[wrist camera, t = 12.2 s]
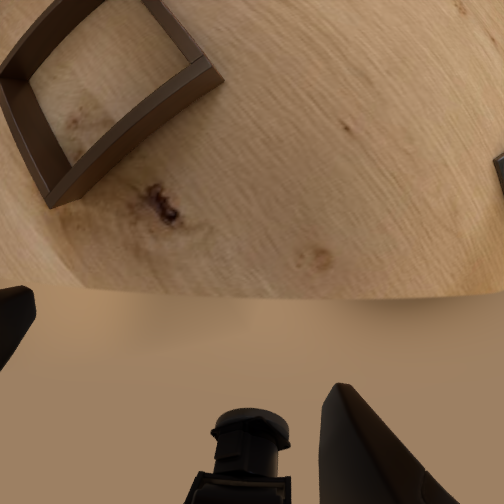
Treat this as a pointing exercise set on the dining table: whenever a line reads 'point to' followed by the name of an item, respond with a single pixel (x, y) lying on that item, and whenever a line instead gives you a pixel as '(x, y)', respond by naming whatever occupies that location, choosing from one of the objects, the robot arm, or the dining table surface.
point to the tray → (122, 133)
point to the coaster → (500, 169)
